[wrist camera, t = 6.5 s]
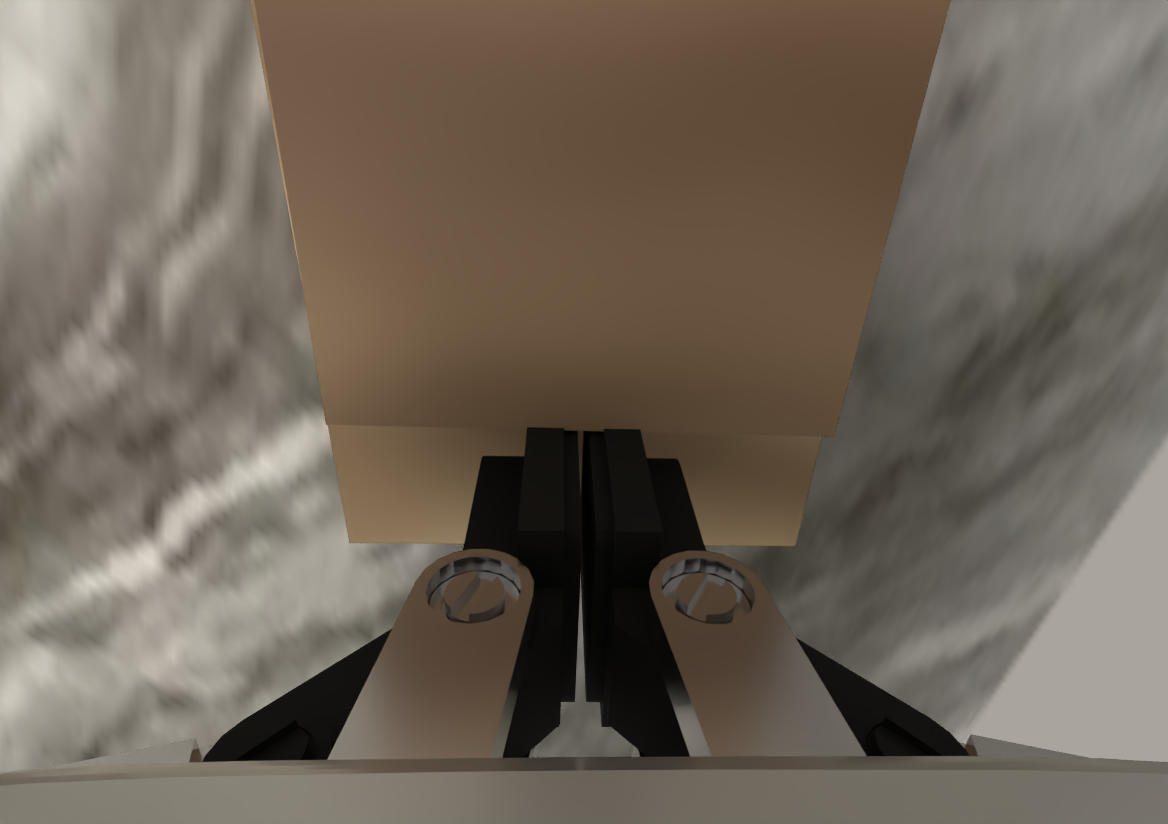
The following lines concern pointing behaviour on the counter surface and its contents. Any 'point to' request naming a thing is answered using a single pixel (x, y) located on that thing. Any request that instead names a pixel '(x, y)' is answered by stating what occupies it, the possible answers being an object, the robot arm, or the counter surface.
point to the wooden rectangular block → (593, 204)
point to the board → (453, 455)
